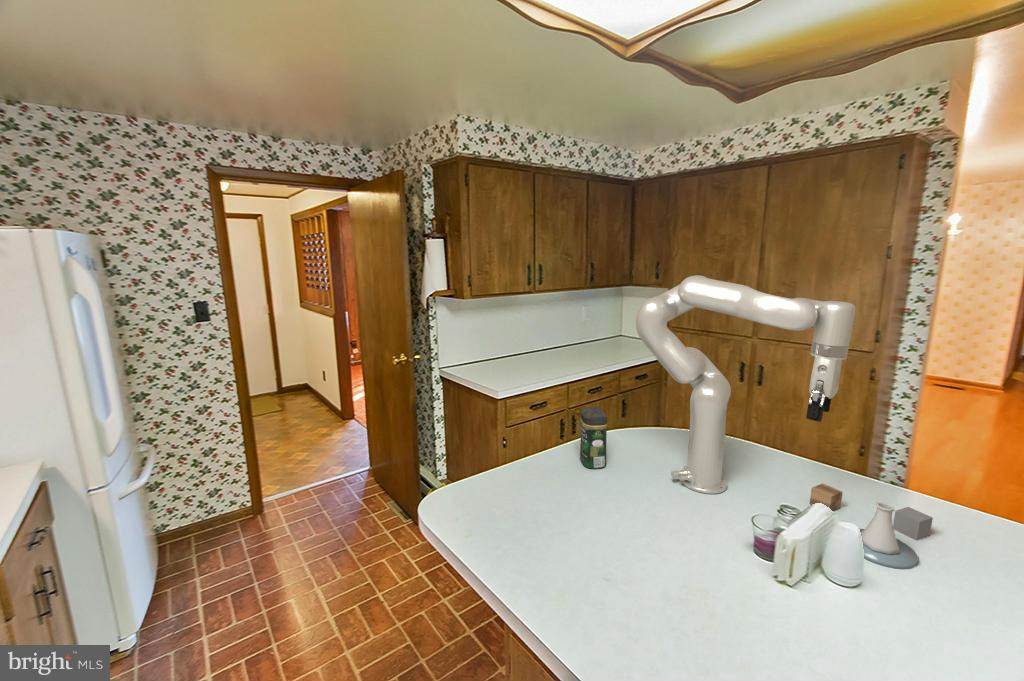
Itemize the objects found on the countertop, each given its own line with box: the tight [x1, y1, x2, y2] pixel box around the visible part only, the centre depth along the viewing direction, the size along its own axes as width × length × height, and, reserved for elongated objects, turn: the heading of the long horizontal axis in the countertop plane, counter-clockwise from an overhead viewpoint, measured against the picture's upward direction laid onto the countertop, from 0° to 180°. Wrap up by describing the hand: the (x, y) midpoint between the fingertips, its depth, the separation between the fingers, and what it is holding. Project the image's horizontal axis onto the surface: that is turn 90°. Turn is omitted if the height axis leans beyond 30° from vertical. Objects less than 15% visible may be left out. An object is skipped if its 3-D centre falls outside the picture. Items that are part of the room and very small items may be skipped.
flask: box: [861, 501, 900, 554], centre depth 100 cm, size 7×7×10 cm
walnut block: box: [809, 482, 843, 512], centre depth 119 cm, size 5×5×5 cm
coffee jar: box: [579, 406, 608, 470], centre depth 144 cm, size 10×8×19 cm
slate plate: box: [859, 528, 919, 570], centre depth 101 cm, size 13×13×1 cm
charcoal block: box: [892, 506, 934, 542], centre depth 107 cm, size 5×5×5 cm
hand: (817, 415), depth 114 cm, fingers open, 9 cm apart
